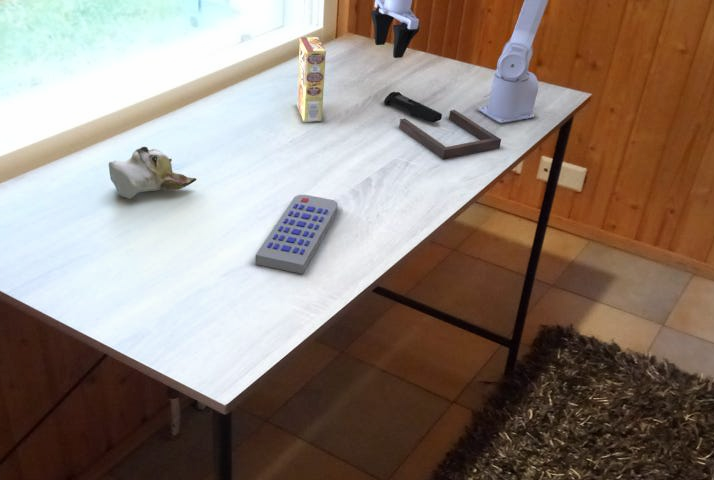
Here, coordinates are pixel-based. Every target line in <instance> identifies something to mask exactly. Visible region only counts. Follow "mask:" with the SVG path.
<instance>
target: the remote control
mask: <svg viewBox="0 0 714 480" xmlns="http://www.w3.org/2000/svg"><path fill="white" fill-rule="evenodd" d="M338 206H339V205H338V202H337V201H336V200H334V199H330V198H325V197H320V196H315V195H308V194H297V195H296V196H294V197H293V198H292V200H291V201H290V203H289V205H288V206H287V207H286V209H285V210H284V212H283V213H282V215H281V216H280V218H279V219H278V221H277V222H276V224H275V225H274V226H273V228H272V230H271V231H270V232H269V234H268V236H267V237H266V239H265V240H264V242H263V243H262V245H261V246H260V247H259V249H258V251H257V252H256V254H255V259H254V261H255V262H254V264H255V265H257V266H263V267H266V268H267V267H268V268H271V269H272V268H273V269H277V270H280V271H281V270H282V271H287V272H291V273H295V274H300V275H304V272H305V271H306V269H307V268H308V265H309V264H310V262H311V260H312V258H313V257H314V255H315V253H316V252H317V249H318V248H319V246H320V244H321V243H322V241H323V239H324V237H325V236H326V234H327V233H328V230H329V229H330V226H331V225H332V223H333V221H334V220H335V218H336V216H337V214H338V208H339V207H338Z"/></svg>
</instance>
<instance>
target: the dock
mask: <svg viewBox="0 0 714 480" xmlns="http://www.w3.org/2000/svg"><path fill="white" fill-rule="evenodd" d="M448 120H449V121H450V122H452V123H454V124H455V125H457V126H459V127H460V128H462V129H463V130H464V131H466V132H468V133H469V134H471V135H472V136H474V137H475V138H477V139H478V140H476V141H475V140H474V141H470V142H465V143H459V144H454V145H448V146H445V145H444V144H442V143H441V142H440V141H438V140H437V139H436V138H434V137H433V136H431V135H430V134H428V133H427V132H426V131H424V130H422V129H421V128H419V127H418V126H417V125H415V124H414V123H413V122H411V121H410V120H408V119H407V118H400V119H399V127H398V128H399V130H401V131H403V132H404V133H406V134H407V135H408V136H409V137H411V138H413V139H414V140H415V141H417V142H418V143H419V144H420V145H422V146H424V147H425V148H427V149H428V150H429V151H431V152H432V153H433V154H434V155H436V156H437V157H438V158H440V159H441V160H448V159H453V158H458V157H463V156H467V155H473V154H479V153H483V152H488V151H493V150H498V149H500V146H501V142H502V138H500V137H499V136H497V135H495V134H494V133H492V132H490V131H489V130H488V129H486V128H484V127H483V126H482V125H480V124H478V123H477V122H474V121H473V120H472V119H470V118H468V117H467V116H465V115H463V114H462V113H460V112H459V111H458V110H456V109H451V110H449V114H448Z"/></svg>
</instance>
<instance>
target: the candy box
mask: <svg viewBox="0 0 714 480" xmlns="http://www.w3.org/2000/svg"><path fill="white" fill-rule="evenodd" d="M298 52H299V54H298V75H297V76H298V77H297V78H298V79H297V109H298V111H299V114H300V117H301V118H302V121H303V122H305V123H310V122H313V123H314V122H322V121H323V104H324V103H323V102H324V87H325V72H326V71H325V70H326V54H327V51H326V49H325V46H324V45H323V43H322V42H321V40H320V38H319V37H318V36H311V37H310V36H308V37H307V36H306V37H304V36H303V37H300V38H299V51H298Z"/></svg>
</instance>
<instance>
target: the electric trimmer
mask: <svg viewBox="0 0 714 480" xmlns="http://www.w3.org/2000/svg"><path fill="white" fill-rule="evenodd" d="M383 104H385V106H389V105H391V106H392V107H393V106H394V107H396V108H398V109H400V110H403V111H405V112H407V113H408V114H409V115H410V116H412V117H414V118H418V119H421V120H424V121H428V122H431V123H436V122H439V121H441V120H442V118H443V114H442V113H441V112H439V111H437V110H435V109H433V108H431V107H429V106H426V105H425V104H423V103H421V102H418V101H416V100H414V99H412V98H409V97H408V96H405V95H403V94H401V92H400V91H392V92H389V94H388V95H387V96H386V97H385V98H384V99H383Z"/></svg>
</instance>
